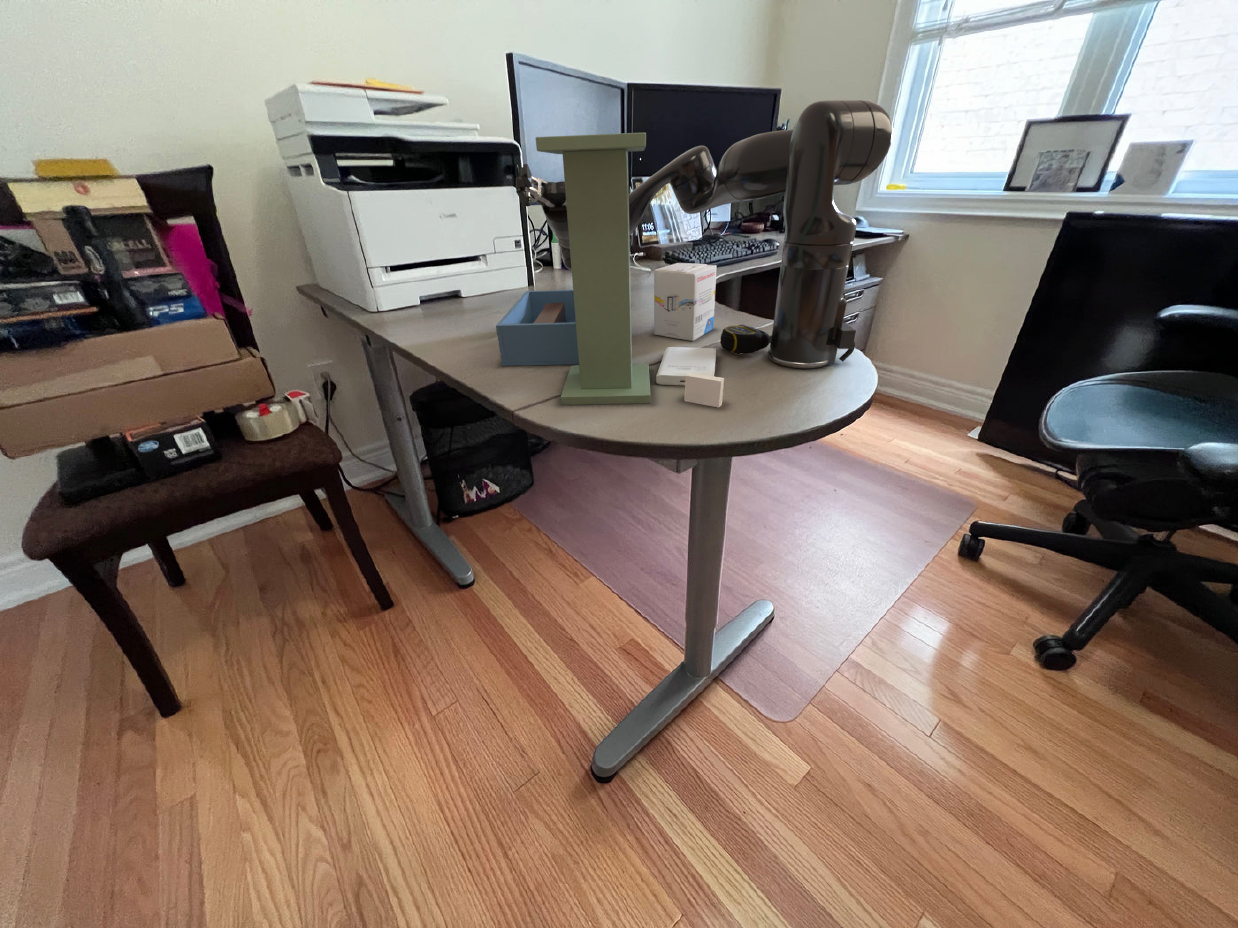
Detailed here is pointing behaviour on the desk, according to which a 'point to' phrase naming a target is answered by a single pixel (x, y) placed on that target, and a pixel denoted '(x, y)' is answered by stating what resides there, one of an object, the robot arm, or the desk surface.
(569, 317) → the tray
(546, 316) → the block
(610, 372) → the stand
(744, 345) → the tape measure
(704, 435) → the desk surface
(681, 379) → the hard drive
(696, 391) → the eraser
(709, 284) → the ink box
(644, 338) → the desk surface
